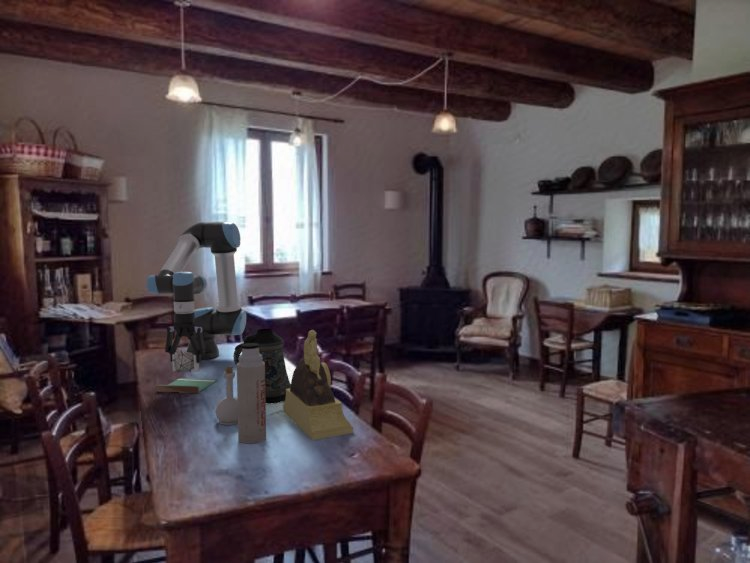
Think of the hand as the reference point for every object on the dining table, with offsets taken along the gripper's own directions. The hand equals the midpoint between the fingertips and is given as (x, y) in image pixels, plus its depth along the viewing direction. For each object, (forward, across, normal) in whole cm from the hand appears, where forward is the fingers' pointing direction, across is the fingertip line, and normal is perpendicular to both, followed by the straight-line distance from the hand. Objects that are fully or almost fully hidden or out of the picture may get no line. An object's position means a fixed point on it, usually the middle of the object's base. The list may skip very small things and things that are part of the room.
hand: (186, 370), depth 215 cm
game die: (0, 0, 0) cm, 0 cm away
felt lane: (+6, 0, +2) cm, 7 cm away
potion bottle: (+7, +32, -34) cm, 47 cm away
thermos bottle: (+7, +44, -47) cm, 65 cm away
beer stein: (+7, +35, -9) cm, 37 cm away
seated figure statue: (+7, +59, -31) cm, 67 cm away
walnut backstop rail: (+7, 0, -7) cm, 9 cm away
